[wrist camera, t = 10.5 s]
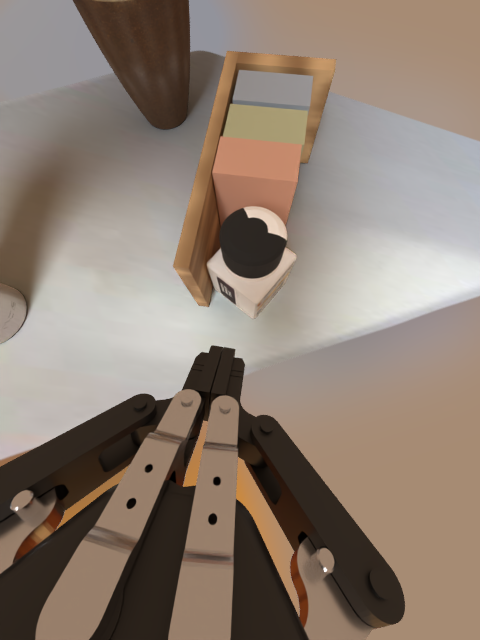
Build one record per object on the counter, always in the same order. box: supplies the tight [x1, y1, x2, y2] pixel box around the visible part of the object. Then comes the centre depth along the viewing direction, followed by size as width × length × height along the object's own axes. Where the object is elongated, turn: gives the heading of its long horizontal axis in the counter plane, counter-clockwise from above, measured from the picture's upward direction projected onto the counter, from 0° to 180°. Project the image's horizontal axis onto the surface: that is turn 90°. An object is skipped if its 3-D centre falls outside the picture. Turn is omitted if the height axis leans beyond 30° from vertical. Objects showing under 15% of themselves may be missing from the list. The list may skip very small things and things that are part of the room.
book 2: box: [223, 104, 308, 160], centre depth 31 cm, size 9×5×12 cm, turn 81°
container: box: [207, 206, 297, 319], centre depth 27 cm, size 8×8×13 cm
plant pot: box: [73, 0, 190, 129], centre depth 34 cm, size 15×15×16 cm
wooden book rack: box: [173, 51, 336, 307], centre depth 30 cm, size 14×30×12 cm, turn 171°
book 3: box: [212, 136, 302, 226], centre depth 30 cm, size 9×5×12 cm, turn 81°
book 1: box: [233, 70, 313, 113], centre depth 32 cm, size 9×5×12 cm, turn 81°
